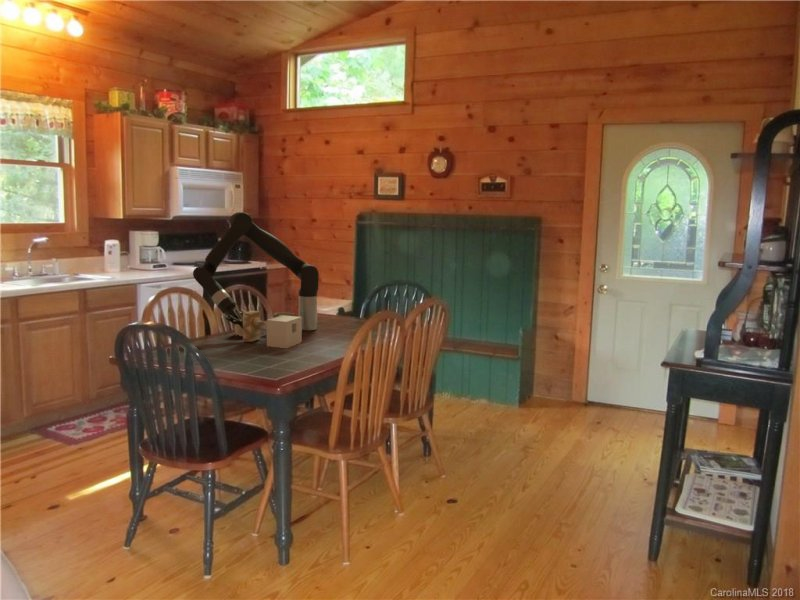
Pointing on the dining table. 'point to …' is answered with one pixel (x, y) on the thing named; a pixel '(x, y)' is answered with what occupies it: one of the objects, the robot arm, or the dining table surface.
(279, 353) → the dining table surface
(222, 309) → the robot arm
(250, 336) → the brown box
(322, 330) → the dining table surface
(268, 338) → the cardboard box
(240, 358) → the dining table surface
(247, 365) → the dining table surface
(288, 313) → the coffee mug
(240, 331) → the teacup with lid
